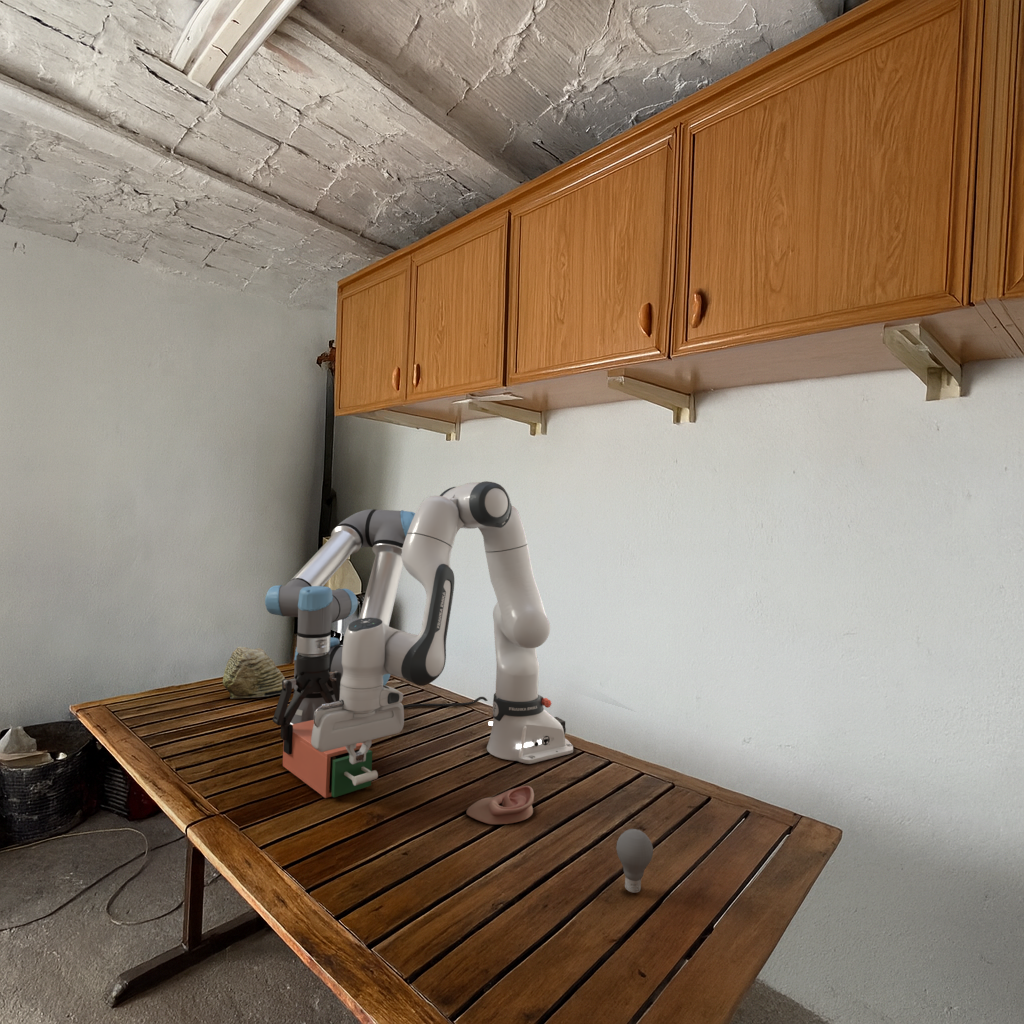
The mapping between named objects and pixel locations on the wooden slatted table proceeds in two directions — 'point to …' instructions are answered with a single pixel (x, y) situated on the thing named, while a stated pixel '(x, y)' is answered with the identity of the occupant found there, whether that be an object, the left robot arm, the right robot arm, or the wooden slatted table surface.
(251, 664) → the fossil
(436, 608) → the right robot arm
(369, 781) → the drawer
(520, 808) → the anatomical model
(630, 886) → the light bulb
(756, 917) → the wooden slatted table surface
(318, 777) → the cabinet
